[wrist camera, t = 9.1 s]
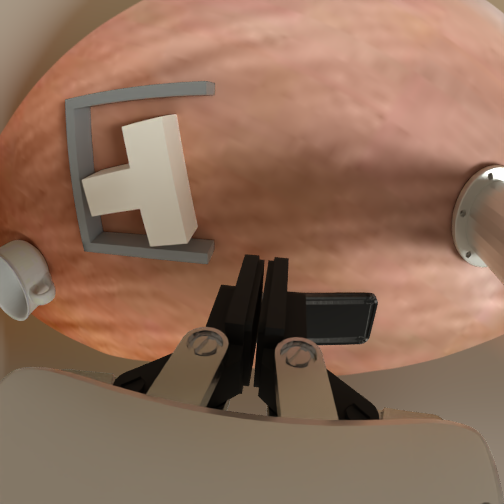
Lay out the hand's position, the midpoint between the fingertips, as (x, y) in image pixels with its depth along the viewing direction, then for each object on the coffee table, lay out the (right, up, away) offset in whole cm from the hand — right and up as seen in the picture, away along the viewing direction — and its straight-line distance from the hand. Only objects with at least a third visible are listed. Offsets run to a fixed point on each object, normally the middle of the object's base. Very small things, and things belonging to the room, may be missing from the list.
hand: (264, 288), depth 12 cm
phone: (+7, -6, +24) cm, 26 cm away
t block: (-12, +9, +18) cm, 23 cm away
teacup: (-33, 0, +26) cm, 42 cm away
